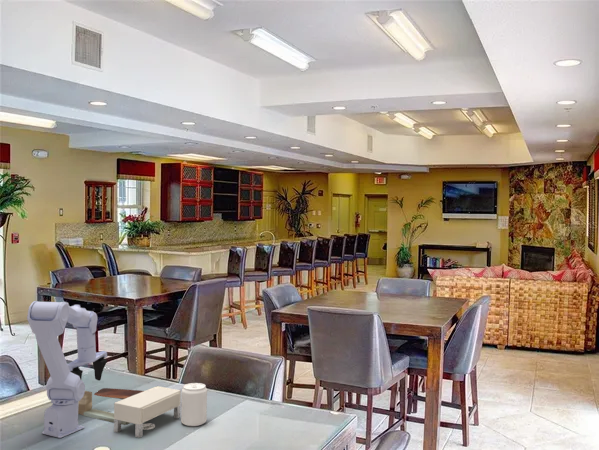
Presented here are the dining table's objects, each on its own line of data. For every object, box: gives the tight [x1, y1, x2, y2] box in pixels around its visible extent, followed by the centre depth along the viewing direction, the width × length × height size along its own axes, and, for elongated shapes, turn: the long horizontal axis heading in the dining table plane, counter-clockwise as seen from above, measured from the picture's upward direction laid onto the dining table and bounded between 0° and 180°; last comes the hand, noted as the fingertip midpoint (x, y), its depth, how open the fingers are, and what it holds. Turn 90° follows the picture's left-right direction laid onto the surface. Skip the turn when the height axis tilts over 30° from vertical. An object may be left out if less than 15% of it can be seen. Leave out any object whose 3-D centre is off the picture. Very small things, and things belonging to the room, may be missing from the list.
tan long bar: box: [78, 390, 131, 426], centre depth 183 cm, size 4×21×7 cm, turn 65°
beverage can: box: [180, 382, 208, 427], centre depth 180 cm, size 8×8×12 cm
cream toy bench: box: [113, 385, 182, 439], centre depth 178 cm, size 20×10×9 cm, turn 155°
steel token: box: [143, 422, 156, 431], centre depth 176 cm, size 4×4×1 cm
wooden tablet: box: [93, 387, 144, 400], centre depth 208 cm, size 26×2×10 cm
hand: (88, 383), depth 188 cm, fingers open, 7 cm apart
